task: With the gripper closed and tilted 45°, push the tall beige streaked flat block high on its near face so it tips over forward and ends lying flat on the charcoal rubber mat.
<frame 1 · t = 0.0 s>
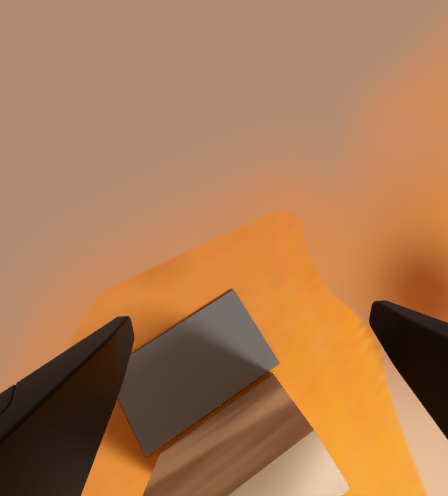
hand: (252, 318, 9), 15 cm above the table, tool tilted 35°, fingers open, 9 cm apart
charcoal rubber mat: (193, 366, 22), on the table
beige streaked flat block: (227, 428, 21), on the table
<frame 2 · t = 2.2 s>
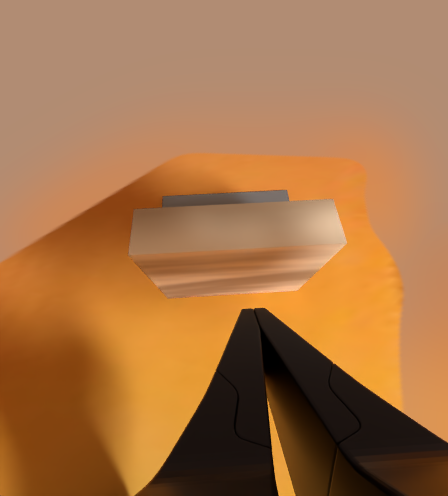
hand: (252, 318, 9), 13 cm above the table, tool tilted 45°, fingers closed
charcoal rubber mat: (227, 224, 25), on the table
beige streaked flat block: (231, 279, 23), on the table
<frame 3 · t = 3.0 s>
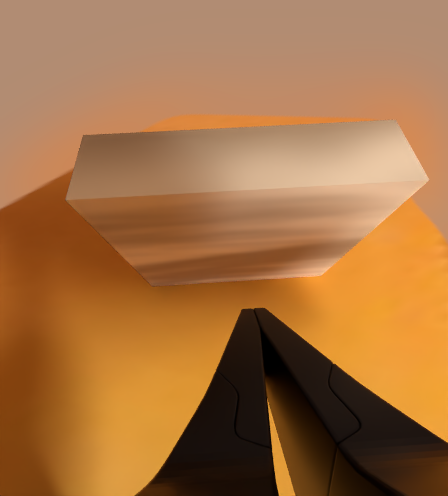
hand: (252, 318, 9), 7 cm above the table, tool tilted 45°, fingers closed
beige streaked flat block: (235, 261, 17), on the table
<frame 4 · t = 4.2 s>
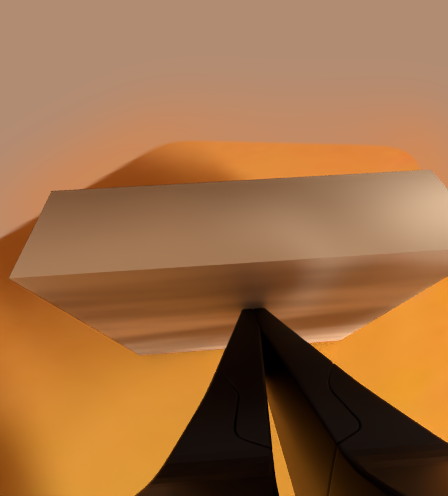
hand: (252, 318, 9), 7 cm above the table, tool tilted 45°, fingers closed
beige streaked flat block: (238, 322, 15), on the table, tilted 9°
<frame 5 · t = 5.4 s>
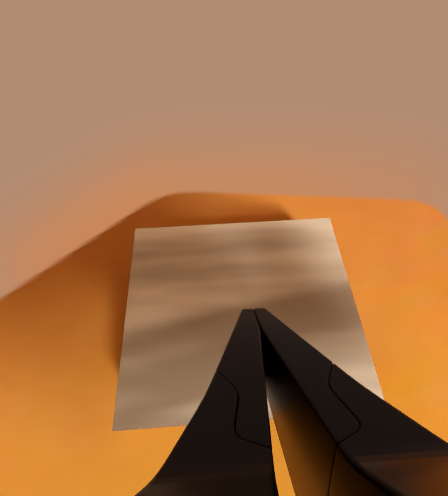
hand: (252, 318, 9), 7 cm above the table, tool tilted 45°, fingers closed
beige streaked flat block: (248, 413, 12), point 2 cm above the table, tilted 90°, touching charcoal rubber mat
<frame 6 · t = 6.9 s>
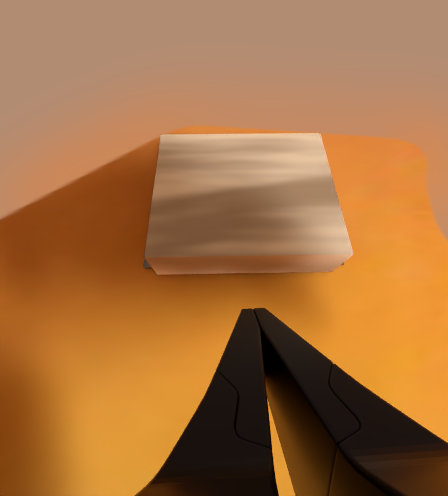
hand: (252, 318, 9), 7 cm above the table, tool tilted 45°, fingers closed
beige streaked flat block: (246, 265, 15), point 2 cm above the table, tilted 90°, touching charcoal rubber mat
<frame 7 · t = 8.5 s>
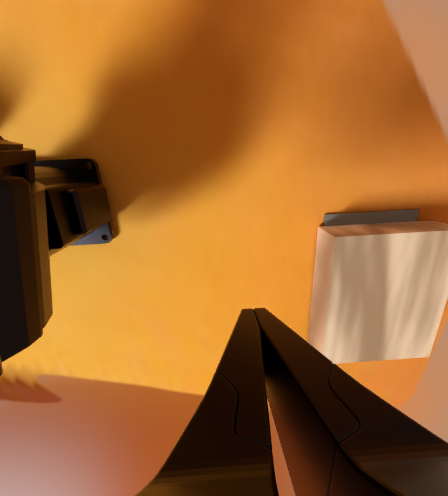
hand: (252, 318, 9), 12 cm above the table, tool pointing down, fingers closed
charcoal rubber mat: (359, 285, 22), on the table
beige streaked flat block: (319, 297, 21), point 2 cm above the table, tilted 90°, touching charcoal rubber mat
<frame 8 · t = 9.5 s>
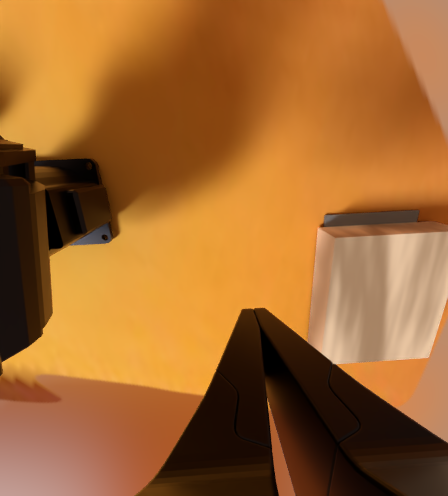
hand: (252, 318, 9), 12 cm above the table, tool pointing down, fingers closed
charcoal rubber mat: (359, 285, 22), on the table
beige streaked flat block: (319, 298, 21), point 2 cm above the table, tilted 90°, touching charcoal rubber mat
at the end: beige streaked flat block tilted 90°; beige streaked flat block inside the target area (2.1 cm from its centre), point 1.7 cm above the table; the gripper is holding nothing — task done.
